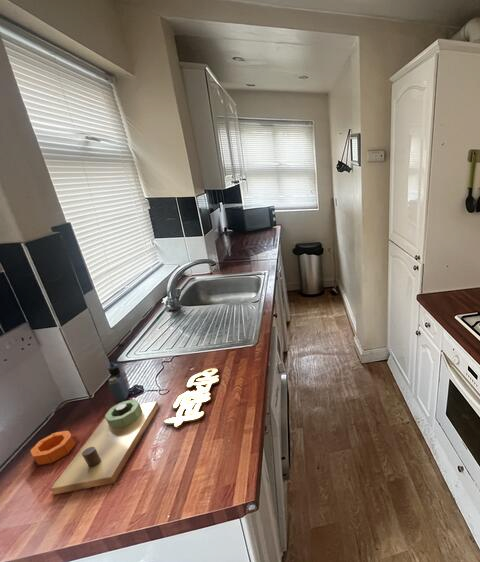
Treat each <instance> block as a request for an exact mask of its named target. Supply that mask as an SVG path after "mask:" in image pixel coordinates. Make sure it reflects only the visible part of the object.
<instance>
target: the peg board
mask: <svg viewBox="0 0 480 562" xmlns="http://www.w3.org/2000/svg"><path fill="white" fill-rule="evenodd" d="M139 404H140V407H141V409H142V413H141V415H140V416H139V418H138V419H137V420H136V421H134V422H132V423H131V424H129V425H127V426H126V427H121V428H115V429H112V428H111V427H110V426H109V424H108V422H107V420H106V418H105V417H103V419H102V421H101V422H100V423H99V424H98V426H97V427H96V428H95V430H94V431H93V433H92V434H91V435H90V437H89V438H88V439H87V440H86V442H85V443H84V444H83V446H81V448H80V449H79V451H78V452H77V453H76V455H75V456H74V457H73V459H71V461H70V463H69V464H68V465H67V466H66V467H65V469H64V470H63V471H62V473H61V474H60V475H59V477H58V478H57V480H56V481H55V482H54V484H53V485H52V486H51V487H50V491H51V492H52V494H53V495H54V496H55V495H59V494H65V493H69V492H74V491H80V490H84V489H89V488H94V487H99V486H100V487H101V486H104V485H105V486H106V485H111V484H114V483H115V482H116V481H117V480H118V478H119V476H120V474H121V472H122V471H123V469H124V467H125V465H126V463H127V462H128V460H129V459H130V457H131V455H132V453H133V452H134V451H135V448H136V447H137V445H138V444H139V442H140V440H141V438H142V436H143V435H144V433H145V431H146V430H147V428H148V426H149V425H150V422H151V421H152V420H153V417H154V416H155V414H156V413H157V411H158V409H159V407H160V405H159V402H158V401H150V402H145V403H144V402H143V403H139ZM116 411H117V413H118V416H121V415H123V414H125V413H127V412H129V409H128V407H127V405H126V404H121V405H119V406H117V407H116Z"/></svg>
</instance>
